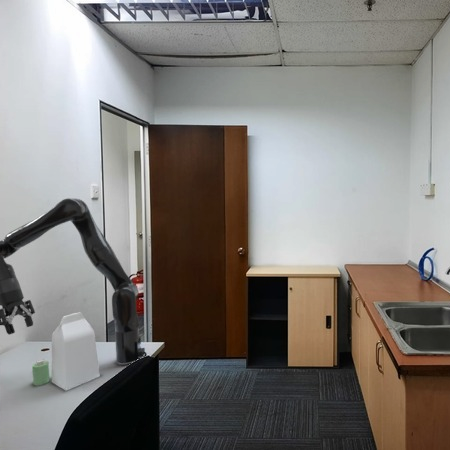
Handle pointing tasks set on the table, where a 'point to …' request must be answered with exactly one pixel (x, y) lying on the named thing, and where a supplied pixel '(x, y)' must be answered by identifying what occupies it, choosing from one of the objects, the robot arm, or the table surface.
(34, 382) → the soap bottle
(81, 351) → the milk
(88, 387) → the table surface
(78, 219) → the robot arm
